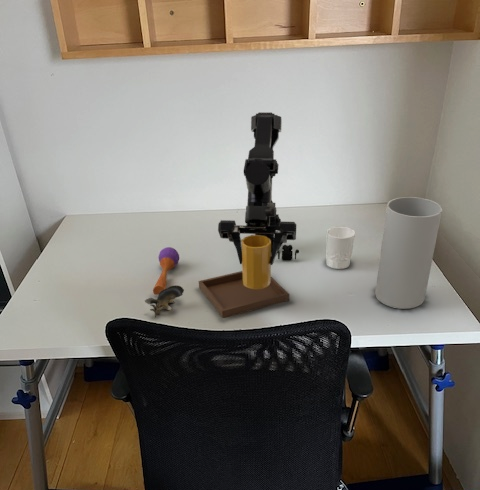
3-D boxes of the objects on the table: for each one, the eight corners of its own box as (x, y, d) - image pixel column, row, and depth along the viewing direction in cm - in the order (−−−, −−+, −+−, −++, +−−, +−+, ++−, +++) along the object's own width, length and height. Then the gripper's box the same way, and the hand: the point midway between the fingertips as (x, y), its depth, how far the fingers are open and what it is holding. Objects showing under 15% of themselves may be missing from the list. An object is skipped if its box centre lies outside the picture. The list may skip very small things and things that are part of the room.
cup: (237, 280, 134) (236, 239, 128) (259, 272, 137) (259, 232, 131) (253, 292, 129) (252, 250, 123) (275, 283, 132) (276, 242, 126)
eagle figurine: (173, 318, 132) (191, 295, 137) (155, 297, 129) (173, 274, 135) (155, 325, 137) (172, 302, 143) (137, 304, 134) (155, 282, 140)
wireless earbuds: (275, 261, 158) (275, 245, 156) (275, 257, 160) (275, 242, 158) (298, 261, 158) (299, 246, 155) (298, 257, 160) (299, 242, 157)
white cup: (351, 271, 152) (354, 239, 147) (323, 269, 154) (325, 237, 148) (352, 258, 159) (355, 227, 153) (325, 256, 160) (327, 225, 155)
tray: (199, 290, 145) (198, 281, 144) (260, 275, 152) (260, 266, 150) (222, 320, 133) (222, 311, 131) (288, 303, 139) (289, 293, 137)
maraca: (145, 283, 141) (157, 245, 156) (152, 301, 144) (163, 262, 160) (166, 280, 140) (177, 241, 155) (173, 298, 143) (182, 259, 159)
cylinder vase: (366, 289, 144) (377, 200, 130) (407, 282, 146) (423, 194, 133) (389, 313, 134) (404, 220, 120) (433, 305, 136) (453, 213, 123)
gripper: (217, 188, 125) (212, 252, 122) (297, 189, 123) (295, 254, 120) (222, 207, 135) (218, 266, 132) (296, 208, 134) (294, 268, 131)
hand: (255, 264), depth 129 cm, fingers closed on cup, 7 cm apart
